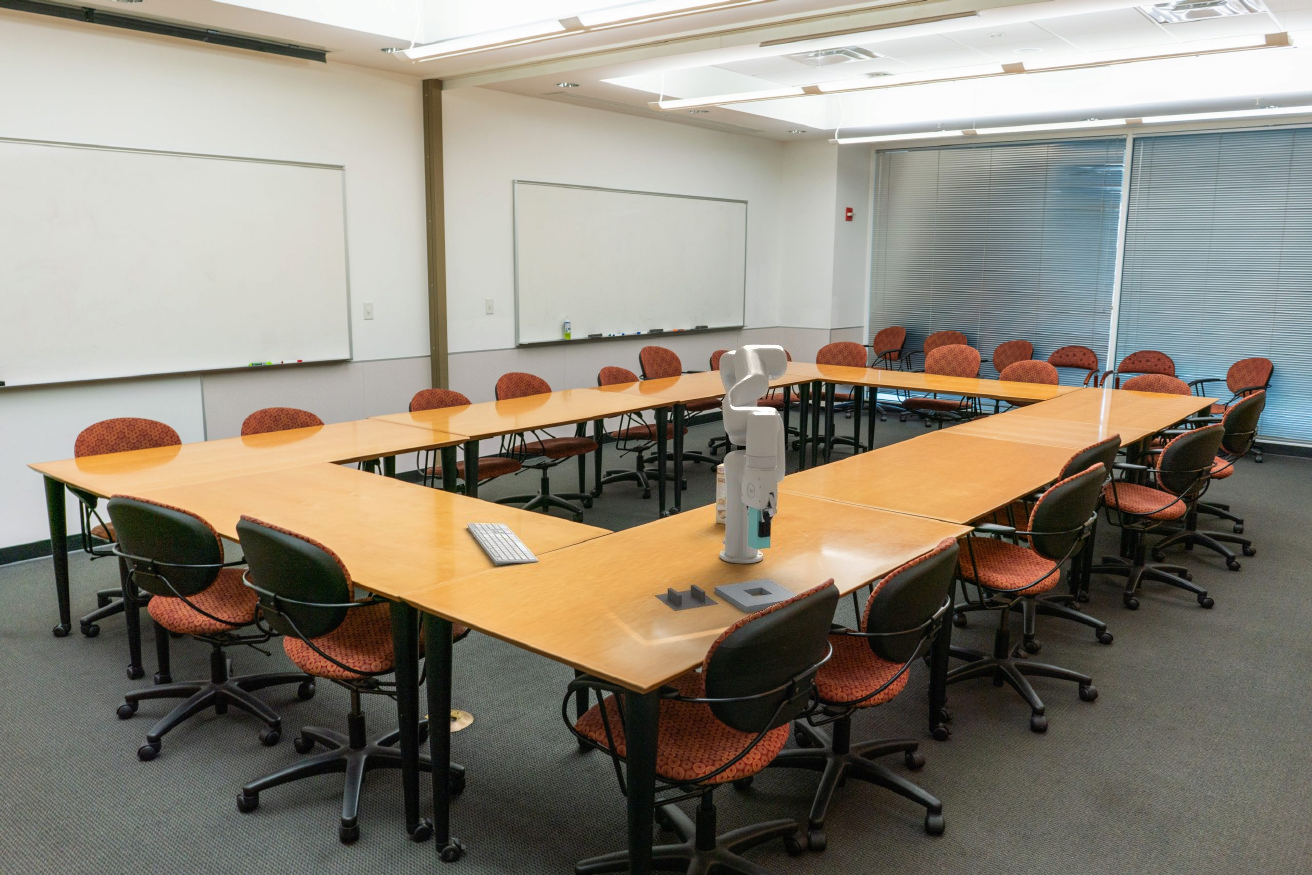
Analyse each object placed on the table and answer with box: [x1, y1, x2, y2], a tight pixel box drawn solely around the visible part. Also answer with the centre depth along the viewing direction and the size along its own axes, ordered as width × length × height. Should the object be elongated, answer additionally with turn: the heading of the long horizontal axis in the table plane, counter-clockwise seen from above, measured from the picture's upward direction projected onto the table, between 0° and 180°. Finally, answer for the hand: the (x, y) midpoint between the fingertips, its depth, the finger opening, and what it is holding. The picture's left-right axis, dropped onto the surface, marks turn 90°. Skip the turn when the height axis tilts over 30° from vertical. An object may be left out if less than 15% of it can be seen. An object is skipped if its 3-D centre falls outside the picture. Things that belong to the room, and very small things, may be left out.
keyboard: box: [466, 522, 540, 566], centre depth 281 cm, size 44×12×2 cm, turn 22°
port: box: [713, 578, 798, 614], centre depth 232 cm, size 16×16×2 cm
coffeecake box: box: [715, 462, 726, 525], centre depth 310 cm, size 15×7×20 cm, turn 148°
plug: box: [748, 507, 772, 550], centre depth 228 cm, size 4×4×10 cm
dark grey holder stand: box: [654, 584, 720, 612], centre depth 230 cm, size 12×12×4 cm
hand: (759, 533), depth 229 cm, fingers closed on plug, 4 cm apart
